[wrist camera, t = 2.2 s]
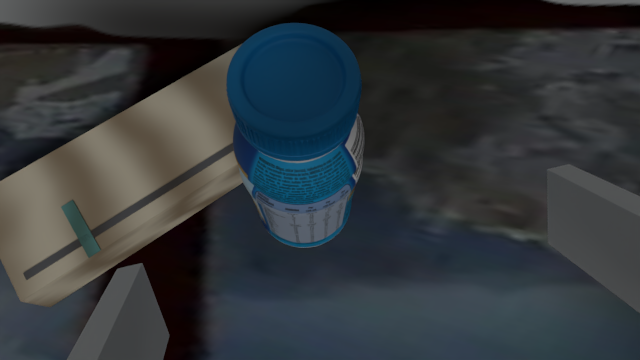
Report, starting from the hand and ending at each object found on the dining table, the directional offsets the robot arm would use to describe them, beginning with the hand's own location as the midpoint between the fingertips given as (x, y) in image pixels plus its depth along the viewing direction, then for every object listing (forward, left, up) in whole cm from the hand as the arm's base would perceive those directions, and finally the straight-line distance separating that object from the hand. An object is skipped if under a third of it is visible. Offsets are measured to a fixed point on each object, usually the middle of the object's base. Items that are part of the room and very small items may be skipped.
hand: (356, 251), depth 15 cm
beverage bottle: (-4, -9, -25) cm, 26 cm away
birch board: (+4, -19, -24) cm, 31 cm away
